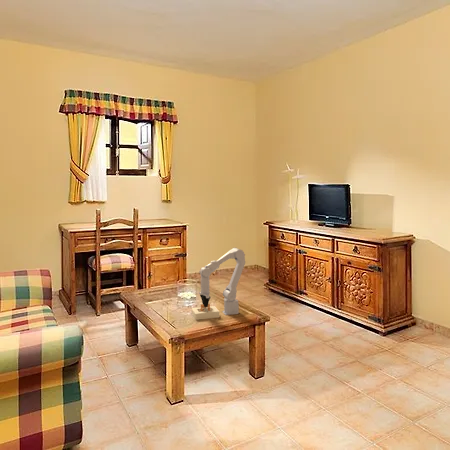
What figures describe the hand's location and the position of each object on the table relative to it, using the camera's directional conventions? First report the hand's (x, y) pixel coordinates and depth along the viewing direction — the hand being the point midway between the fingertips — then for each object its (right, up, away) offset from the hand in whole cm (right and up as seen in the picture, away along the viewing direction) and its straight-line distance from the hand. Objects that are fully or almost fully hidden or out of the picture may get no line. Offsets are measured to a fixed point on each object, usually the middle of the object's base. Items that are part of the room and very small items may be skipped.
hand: (205, 306), depth 261 cm
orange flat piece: (0, -4, 0) cm, 4 cm away
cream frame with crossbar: (0, -7, +1) cm, 6 cm away
